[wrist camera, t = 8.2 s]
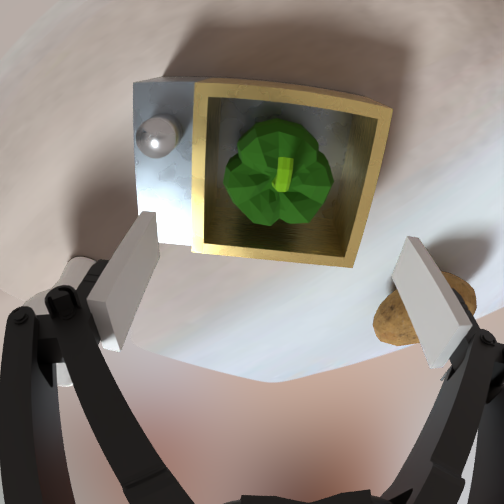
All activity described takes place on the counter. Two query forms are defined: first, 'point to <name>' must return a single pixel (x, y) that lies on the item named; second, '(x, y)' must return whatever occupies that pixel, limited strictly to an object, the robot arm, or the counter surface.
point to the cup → (70, 277)
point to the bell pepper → (278, 174)
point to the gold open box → (225, 146)
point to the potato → (398, 321)
